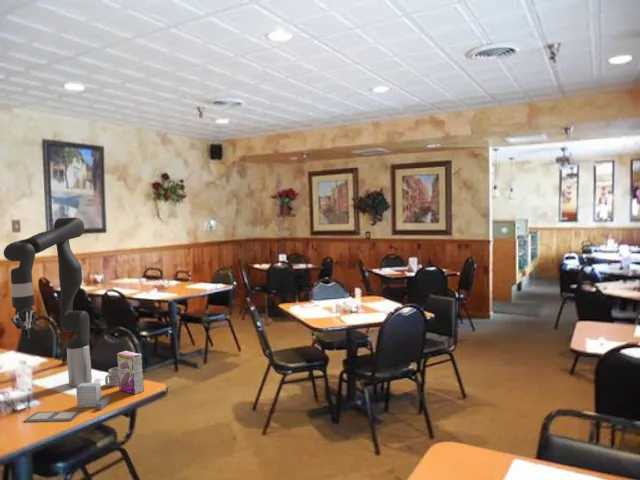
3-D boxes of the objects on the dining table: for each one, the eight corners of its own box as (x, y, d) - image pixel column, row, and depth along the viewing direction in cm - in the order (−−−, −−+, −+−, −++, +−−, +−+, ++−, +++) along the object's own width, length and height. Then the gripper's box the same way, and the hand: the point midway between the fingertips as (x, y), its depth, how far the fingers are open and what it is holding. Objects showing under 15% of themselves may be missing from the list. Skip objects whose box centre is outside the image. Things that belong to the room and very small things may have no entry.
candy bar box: (118, 390, 214) (116, 353, 213) (128, 386, 218) (126, 350, 217) (134, 395, 208) (132, 356, 207) (144, 391, 212) (142, 353, 211)
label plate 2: (59, 412, 192) (59, 411, 192) (82, 412, 192) (82, 410, 192) (47, 421, 184) (47, 419, 184) (71, 420, 184) (71, 419, 184)
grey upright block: (102, 403, 201) (100, 382, 200) (97, 407, 196) (96, 386, 196) (82, 403, 201) (81, 383, 200) (77, 408, 196) (75, 387, 196)
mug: (116, 380, 227) (115, 366, 227) (128, 381, 225) (127, 367, 225) (100, 388, 218) (99, 373, 218) (112, 389, 216) (111, 374, 215)
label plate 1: (36, 413, 193) (36, 411, 193) (59, 412, 192) (59, 411, 192) (23, 422, 185) (23, 420, 185) (47, 421, 184) (47, 419, 184)
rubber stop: (106, 402, 201) (106, 396, 201) (110, 402, 201) (110, 396, 201) (97, 410, 193) (96, 403, 193) (101, 410, 193) (100, 403, 193)
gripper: (21, 297, 185) (25, 342, 187) (42, 291, 199) (45, 333, 200) (2, 297, 186) (5, 343, 187) (24, 291, 199) (27, 334, 200)
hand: (26, 338), depth 193 cm, fingers closed
